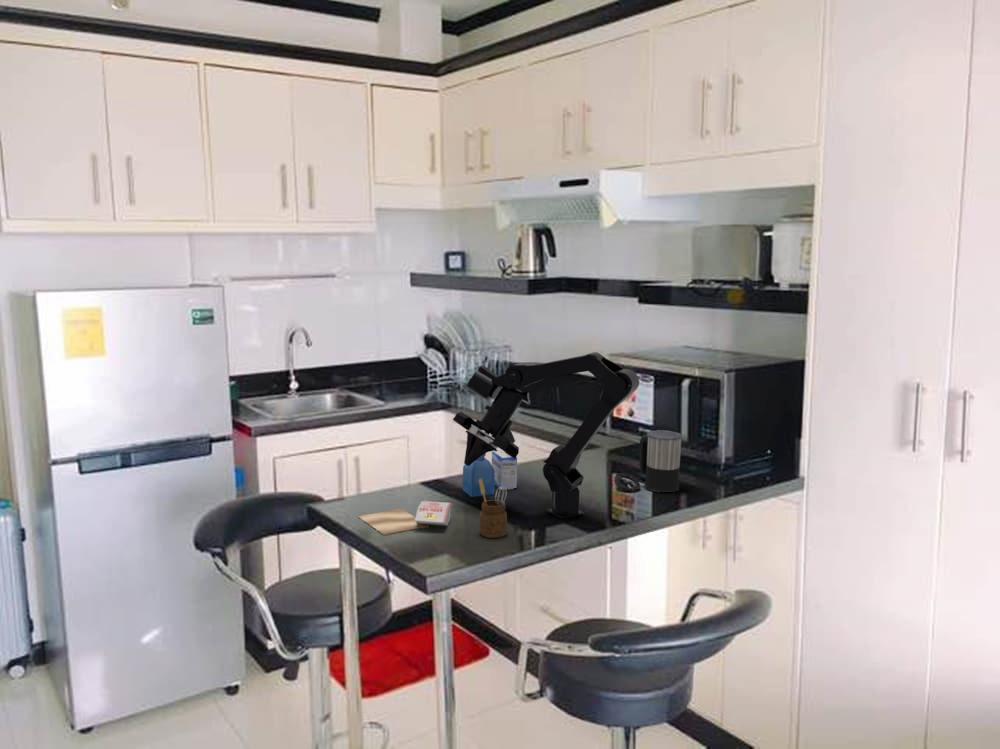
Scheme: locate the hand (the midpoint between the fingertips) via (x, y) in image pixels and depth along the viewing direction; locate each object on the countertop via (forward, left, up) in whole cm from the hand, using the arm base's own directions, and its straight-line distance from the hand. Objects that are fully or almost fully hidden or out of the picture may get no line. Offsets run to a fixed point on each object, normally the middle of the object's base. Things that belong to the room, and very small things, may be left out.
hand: (466, 464), depth 194 cm
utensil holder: (-18, +4, -11) cm, 21 cm away
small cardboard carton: (-2, +9, -9) cm, 13 cm away
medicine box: (+13, -19, -11) cm, 25 cm away
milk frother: (-8, -50, -11) cm, 52 cm away
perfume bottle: (+11, -10, -11) cm, 18 cm away
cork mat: (0, +19, -11) cm, 22 cm away
